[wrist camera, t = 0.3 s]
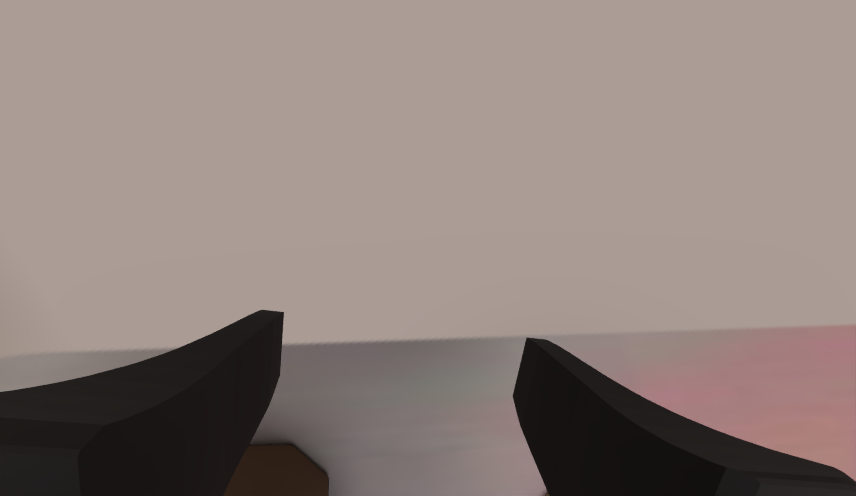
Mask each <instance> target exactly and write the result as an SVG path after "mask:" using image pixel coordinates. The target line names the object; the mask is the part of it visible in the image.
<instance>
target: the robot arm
mask: <svg viewBox="0 0 856 496" xmlns="http://www.w3.org/2000/svg"><path fill="white" fill-rule="evenodd" d="M283 317H284V312H277V311H267V310H260V311H258V312H255V313H253V314H251V315H249V316H247V317H245V318H243V319H240V320H238V321H237V322H234V323H233V324H230V325H228V326H226V327H224V328H222V329H220V330H218V331H216V332H214V333H212V334H210V335H208V336H205V337H203V338H201V339H198V340H196V341H194V342H192V343H189V344H187V345H185V346H182V347H180V348H178V349H175V350H172V351H170V352H167V353H164V354H162V355H159V356H156V357H153V358H150V359H147V360H144V361H141V362H138V363H135V364H131V365H128V366H124V367H120V368H116V369H113V370H109V371H105V372H101V373H98V374H94V375H90V376H86V377H82V378H77V379H72V380H68V381H63V382H58V383H53V384H47V385H42V386H36V387H31V388H25V389H19V390H13V391H5V392H0V496H223V495H224V492H225V490H226V488H227V486H228V484H229V482H230V480H231V478H232V476H233V474H234V472H235V470H236V468H237V466H238V464H239V462H240V460H241V458H242V457H243V455H244V453H245V451H246V449H247V447H248V445H249V443H250V441H251V439H252V438H253V436H254V434H255V432H256V430H257V428H258V426H259V424H260V422H261V420H262V418H263V416H264V414H265V413H266V411H267V409H268V407H269V404H270V401H271V399H272V396H273V393H274V391H275V388H276V385H277V382H278V379H279V376H280V365H281V349H282V332H283ZM513 399H514V403H515V407H516V411H517V415H518V419H519V422H520V426H521V428H522V431H523V434H524V436H525V438H526V441H527V443H528V446H529V448H530V451H531V453H532V455H533V458H534V460H535V463H536V465H537V467H538V470H539V472H540V474H541V477H542V479H543V482H544V484H545V486H546V489H547V491H548V494H549V496H856V482H855V481H854V480H853V479H852V478H850V477H849V476H848V475H846V474H845V473H844V472H842V471H840V470H838V469H836V468H834V467H831V466H827V465H824V464H820V463H817V462H813V461H810V460H806V459H803V458H799V457H795V456H792V455H788V454H785V453H781V452H778V451H774V450H771V449H768V448H765V447H762V446H759V445H756V444H753V443H750V442H747V441H744V440H741V439H738V438H735V437H733V436H730V435H727V434H725V433H722V432H719V431H717V430H714V429H712V428H709V427H707V426H704V425H702V424H699V423H697V422H695V421H692V420H690V419H687V418H685V417H683V416H681V415H678V414H676V413H674V412H672V411H670V410H668V409H666V408H664V407H662V406H659V405H657V404H655V403H653V402H651V401H649V400H647V399H645V398H644V397H642V396H640V395H638V394H636V393H634V392H632V391H631V390H629V389H627V388H626V387H624V386H622V385H620V384H619V383H617V382H615V381H613V380H612V379H610V378H609V377H607V376H605V375H604V374H602V373H600V372H599V371H597V370H596V369H594V368H592V367H591V366H589V365H588V364H586V363H585V362H583V361H582V360H580V359H578V358H577V357H575V356H574V355H572V354H571V353H569V352H567V351H566V350H564V349H563V348H561V347H559V346H558V345H556V344H554V343H552V342H550V341H548V340H544V339H535V338H527V339H526V343H525V347H524V351H523V355H522V360H521V364H520V368H519V372H518V376H517V380H516V385H515V389H514V393H513Z"/></svg>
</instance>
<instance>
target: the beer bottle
mask: <svg viewBox="0 0 856 496" xmlns="http://www.w3.org/2000/svg"><path fill="white" fill-rule="evenodd" d="M328 488H329V478H328V476H327V475H326V474H325V473H324V472H323V471H322V470H321V469H319V468H318V467H317V466H316V465H315V464H314V463H313V462H311V461H310V460H309V459H308V458H307V457H306V456H305V455H303V454H302V453H301V452H300V451H299V450H298V449H297V448H295V447H294V446H293V445H292V444H291V445H248V447H247V449H246V451H245V453H244V455H243V457H242V458H241V460H240V462H239V464H238V466H237V468H236V470H235V472H234V474H233V476H232V478H231V480H230V482H229V484H228V486H227V488H226V490H225V492H224V495H223V496H328Z"/></svg>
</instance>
